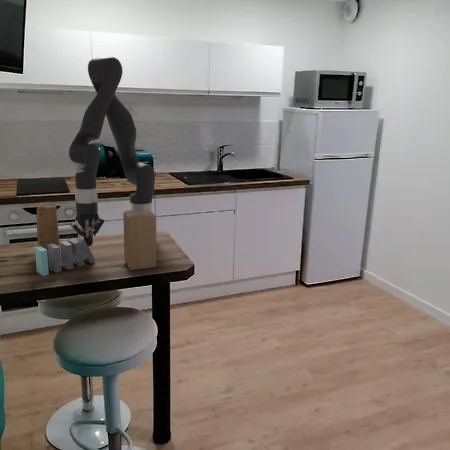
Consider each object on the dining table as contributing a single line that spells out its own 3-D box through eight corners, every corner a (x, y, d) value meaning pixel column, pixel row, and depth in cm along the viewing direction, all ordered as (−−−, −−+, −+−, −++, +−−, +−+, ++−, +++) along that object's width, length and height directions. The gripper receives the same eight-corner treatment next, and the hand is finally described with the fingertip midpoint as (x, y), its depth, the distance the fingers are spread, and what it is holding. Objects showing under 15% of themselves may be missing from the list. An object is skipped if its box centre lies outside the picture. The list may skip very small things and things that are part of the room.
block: (60, 258, 170) (56, 206, 164) (38, 259, 167) (34, 207, 162) (60, 248, 179) (57, 199, 174) (40, 249, 177) (36, 200, 171)
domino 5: (88, 256, 170) (78, 237, 165) (95, 260, 167) (85, 241, 162) (84, 259, 169) (74, 240, 164) (91, 263, 166) (80, 244, 161)
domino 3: (66, 264, 164) (65, 240, 162) (73, 268, 161) (71, 244, 158) (61, 265, 163) (59, 241, 160) (68, 269, 160) (66, 245, 157)
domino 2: (54, 267, 161) (53, 243, 159) (61, 271, 158) (59, 247, 155) (49, 268, 160) (47, 244, 157) (55, 272, 157) (54, 248, 154)
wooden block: (124, 261, 169) (122, 210, 163) (150, 258, 173) (149, 208, 167) (129, 271, 160) (128, 217, 154) (157, 268, 164) (156, 215, 158)
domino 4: (78, 260, 167) (73, 238, 164) (84, 264, 164) (80, 242, 161) (73, 262, 166) (68, 240, 163) (79, 266, 163) (75, 243, 159)
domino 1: (42, 270, 158) (40, 246, 156) (48, 274, 155) (46, 250, 152) (36, 271, 157) (34, 247, 154) (43, 276, 153) (41, 251, 151)
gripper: (74, 204, 154) (76, 252, 159) (108, 199, 163) (109, 244, 168) (64, 200, 159) (66, 246, 164) (97, 195, 168) (99, 239, 173)
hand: (88, 245), depth 166 cm, fingers closed
